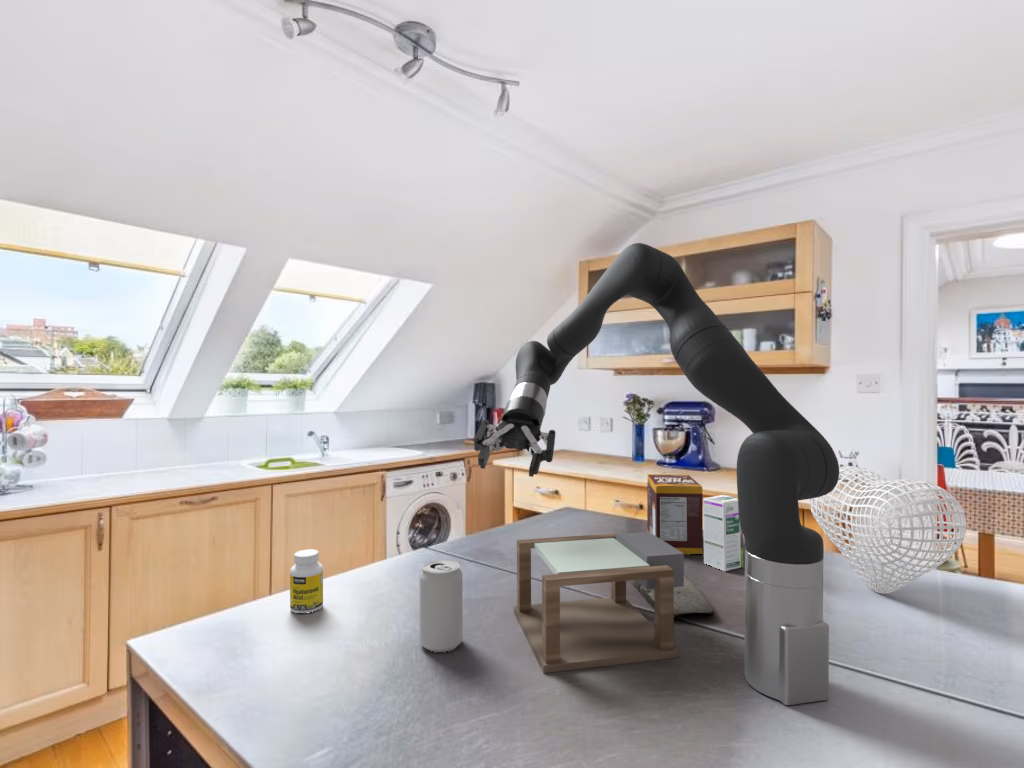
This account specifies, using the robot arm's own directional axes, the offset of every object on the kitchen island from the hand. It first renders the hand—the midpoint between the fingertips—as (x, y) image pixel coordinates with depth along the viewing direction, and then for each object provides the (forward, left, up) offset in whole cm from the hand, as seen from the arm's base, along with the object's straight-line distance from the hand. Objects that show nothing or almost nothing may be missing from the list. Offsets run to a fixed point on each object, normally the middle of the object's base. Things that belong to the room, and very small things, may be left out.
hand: (506, 469), depth 94 cm
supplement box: (+29, -46, -25) cm, 60 cm away
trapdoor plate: (-10, -14, -16) cm, 24 cm away
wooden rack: (-10, -11, -25) cm, 29 cm away
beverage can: (-9, +12, -25) cm, 29 cm away
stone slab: (+5, -31, -25) cm, 40 cm away
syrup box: (+13, -49, -25) cm, 57 cm away
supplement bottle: (+9, +34, -25) cm, 43 cm away
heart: (-6, -69, -25) cm, 74 cm away
